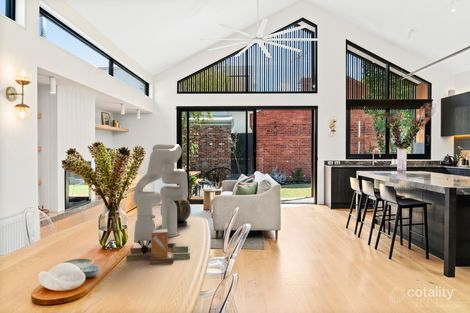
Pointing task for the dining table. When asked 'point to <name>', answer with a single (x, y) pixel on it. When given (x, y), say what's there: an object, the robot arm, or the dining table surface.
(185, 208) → the amphora vase
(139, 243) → the robot arm
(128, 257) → the trap track
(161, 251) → the small box
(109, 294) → the dining table surface
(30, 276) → the dining table surface
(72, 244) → the dining table surface
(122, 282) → the dining table surface
